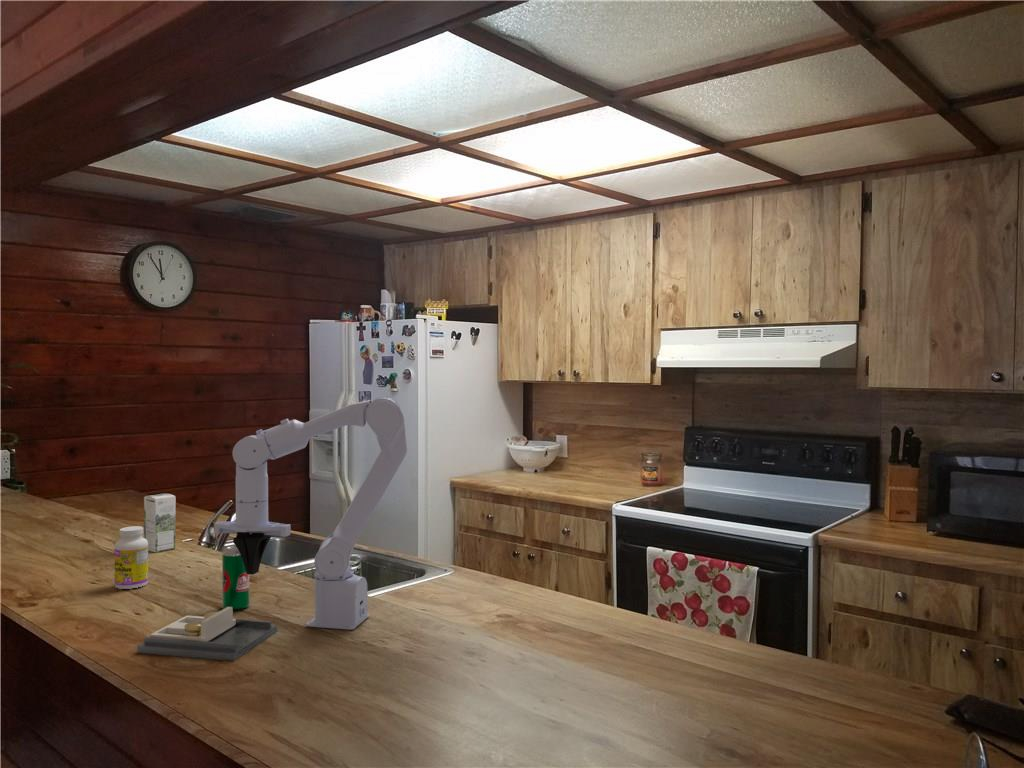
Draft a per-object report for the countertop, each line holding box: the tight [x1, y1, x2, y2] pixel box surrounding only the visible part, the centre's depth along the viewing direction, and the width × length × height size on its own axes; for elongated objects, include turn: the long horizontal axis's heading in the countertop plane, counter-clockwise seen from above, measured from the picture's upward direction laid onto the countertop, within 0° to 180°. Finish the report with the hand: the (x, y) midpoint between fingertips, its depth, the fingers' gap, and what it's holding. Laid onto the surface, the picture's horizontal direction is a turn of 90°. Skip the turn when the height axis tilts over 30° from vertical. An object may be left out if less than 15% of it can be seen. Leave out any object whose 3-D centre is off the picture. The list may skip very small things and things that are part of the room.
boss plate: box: [136, 610, 278, 662], centre depth 130 cm, size 18×14×4 cm
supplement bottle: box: [114, 525, 149, 590], centre depth 164 cm, size 7×7×13 cm
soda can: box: [221, 545, 250, 611], centre depth 149 cm, size 5×5×12 cm
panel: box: [149, 607, 237, 641], centre depth 131 cm, size 10×10×4 cm
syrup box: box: [143, 493, 177, 553], centre depth 197 cm, size 6×6×14 cm
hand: (252, 573), depth 138 cm, fingers closed
